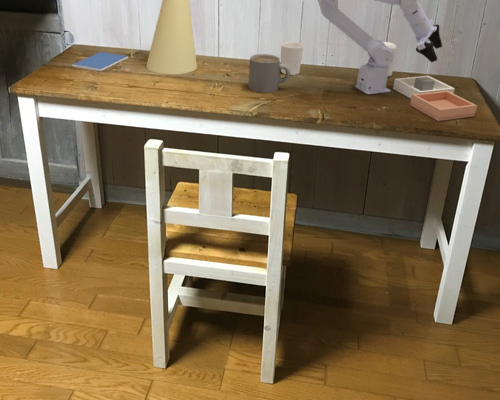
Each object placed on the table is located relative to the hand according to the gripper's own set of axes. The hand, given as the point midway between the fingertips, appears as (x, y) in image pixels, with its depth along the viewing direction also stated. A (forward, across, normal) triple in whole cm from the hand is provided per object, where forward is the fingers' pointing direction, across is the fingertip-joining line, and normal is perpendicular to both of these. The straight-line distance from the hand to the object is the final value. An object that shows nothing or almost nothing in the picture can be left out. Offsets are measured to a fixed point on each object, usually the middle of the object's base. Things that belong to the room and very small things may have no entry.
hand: (436, 54), depth 189 cm
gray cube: (+7, -9, +6) cm, 13 cm away
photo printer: (+2, +1, +24) cm, 24 cm away
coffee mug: (-25, -30, +42) cm, 58 cm away
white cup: (-19, -11, +46) cm, 51 cm away
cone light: (-46, -24, +77) cm, 93 cm away
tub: (+8, -9, +7) cm, 14 cm away
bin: (+8, -21, -3) cm, 23 cm away
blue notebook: (-62, -36, +95) cm, 119 cm away
